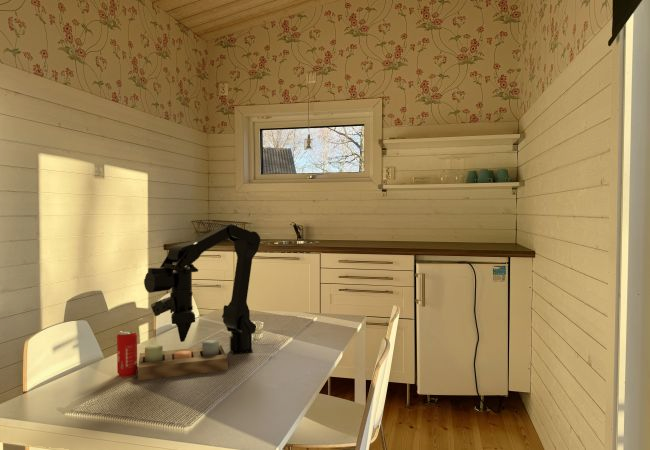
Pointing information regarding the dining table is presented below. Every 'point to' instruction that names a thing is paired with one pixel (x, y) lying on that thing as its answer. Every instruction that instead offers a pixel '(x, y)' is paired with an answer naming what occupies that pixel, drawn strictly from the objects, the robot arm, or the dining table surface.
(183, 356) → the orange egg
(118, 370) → the beverage can
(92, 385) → the dining table surface
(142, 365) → the wooden compartment tray
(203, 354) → the sage green rounded cylinder
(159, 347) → the button sage
